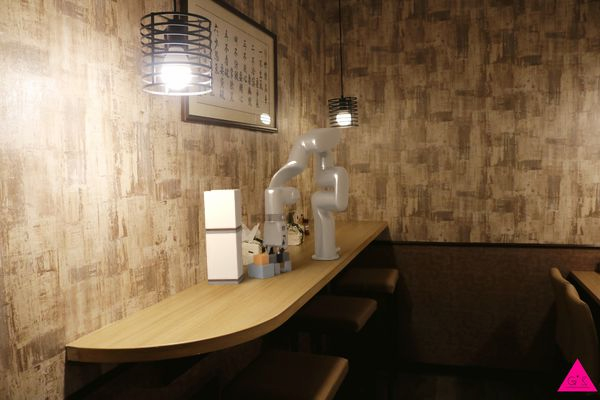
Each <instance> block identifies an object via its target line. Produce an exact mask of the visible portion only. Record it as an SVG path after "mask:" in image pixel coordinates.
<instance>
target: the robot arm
mask: <svg viewBox="0 0 600 400" xmlns="http://www.w3.org/2000/svg"><path fill="white" fill-rule="evenodd" d="M340 142H341V133H340V130H338V128H336V127H333V126H332V127H331V126H330V127H320V128H319V127H318V128H312V129H309V130H307V131H306V132H305V133H302V134H299V135H297V137H295V140H294V142H293V144H292V148H291V150H290V153H289V156H288V159H287V162H286V163H284V165H283V166H282V167H280V168H279V170H278V171H277V172H276V173H274V175H273V177H272V178H271V180H270V183H269V185H268V187H267V188H265V189H264V216H265V217H264V218H265V221H264V223H263V235H262V236H263V237H262V238H263V242H262V247H264V249H265V250H267V252H266V253H268V255H270V254H275V253H278V254H276V255H277V263H280V264H284V262H283V253H284V252H286V250H287V249H289V248H290V246H289V236H288V227H287V223H286V221H285V219H286V216H285V215H284V214H285V213H284V205H285V206H286V205H288V206H291V205H295V204H296V203H298V202H299V200H300V197H301V196H300V191H299V190H298V188H297V187H293V186H284V185H285V183H287V182H288V181H289V180H291V179H293V178H294V177H297V176H298V175H300V174H302V173H304V172H305V170H306V168H307V166H308V162H309V160H310V156H311V155H312V154H313V155H314V158H315V159H314V160H315V163H314V164H315V165H314V169H315V170H314V181H315V184H316V186H318V187H320V188H334V190H330V189H329V190H328V189H326V190H324V189H323V190H322V189H321V190H317V191H315V192H314V193H313V194H312V195H311V198H310V200H311V201H310V202H311V207H312V213H313V226H314V227H313V228H314V229H313V230H314V232H313V233H314V254H312V256H311V258H312V260H314V261H334V260H337V259H339V258H340V256H339V255H340V254H337V253H339V252H341V248H340V247H336V224H335V223H336V221H335V217H334V215H333V213H332V212H343V211H345V210H346V209H347V207H348V204H349V190H350V189H349V188H350V187H349V184H350V183H349V181H350V180H349V179H350V176H349V173H348V171H347V169H346V168H345V167H343V166H339V165H338V166H335V165H334V164H335V163H334V162H335V161H334V159H335V158H334V154H333V151H332V150H331V149H333V148H335V147H337V146H338V145H339V143H340ZM275 247H276V252H275Z"/></svg>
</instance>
